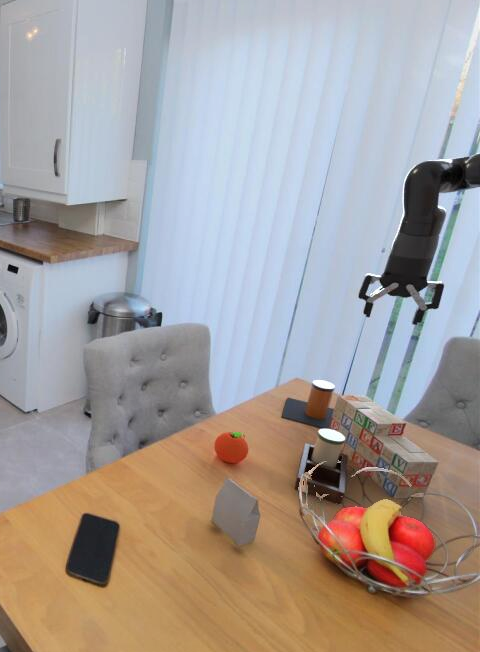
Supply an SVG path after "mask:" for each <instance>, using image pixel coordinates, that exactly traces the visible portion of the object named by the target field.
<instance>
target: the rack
mask: <svg viewBox="0 0 480 652" xmlns="http://www.w3.org/2000/svg"><path fill="white" fill-rule="evenodd" d="M314 446H315V444H314V445H313V444H311V443H307V442H305V443H304V445H303V449H302V452H301V456H300V461H299V466H298V469H297V474H296V479H295V483H294V487H293V490H295V491H298V487H299V482H300V479H301V476H302V474H304V473H305V472H308V471H309V470H311V469H312V468H313V467H315V466H316V465H317V464H318V463H315V462H312V461H310V460H311V457H312V453H313V450H314ZM348 459H349V458H348V455H345V454H344V453H342V452H340V455H339V459H338V460H339V461H341V463H337V465H336V468H335V469H334V468H331V467H328V466H325V465H319V466H318V467H317V468H316V469H315V470H314V471H313V473H312V474H311V475H312V476H311V478H312V480H311V479H308V478H307V485H308V494H307V495H309V496H312V497H315V498H317V497H316V492H317V493H318V494H319V495H320V496H322V495H323V494H329V495H327V496H325V497H323V499H322V500H324V501H326V502H329V503H333V504H336V503H337V504H336V505H338V504H341V505H342V504H343V503H342V502H343V500H344V497H345V494H346V481H347V469H348V461H349V460H348ZM346 464H347V465H346ZM303 485H304V481H303ZM314 485H315V487H314ZM298 492H299V491H298ZM341 496H343V497H341Z"/></svg>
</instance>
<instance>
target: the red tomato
mask: <svg viewBox="0 0 480 652" xmlns="http://www.w3.org/2000/svg"><path fill="white" fill-rule="evenodd" d="M245 437H246V436H245V434H244V433H242V432H239V431H233V432H231V431H228V432H223V433H221V434H220V435H218V436H217V437H216V439H215V440H214V443H213V447H214V452H215V453H216V455H217V457H219V459H221V460H222V461H224V462H226V463H230V464H237V463H241V462H242V461H244V460H245V459H246V458H247V456H248V454H249V445H248V442H247V441H246V440H245Z"/></svg>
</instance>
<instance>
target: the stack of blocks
mask: <svg viewBox="0 0 480 652" xmlns="http://www.w3.org/2000/svg"><path fill="white" fill-rule="evenodd" d="M333 409H334V411H333V415H332V420H331V423H330V427H329V429H332V430H335V431H337V432H339V433H341V434H343V435H344V436H345V442H344V443H343V446H342V449H341V452H340V453H342V454H345V455H348V459H349V460H350V461H352V462H353V463H354V464H355V465H356V466H357V467H358V468H359V469H361V468H365V467H378V468H384V469H388V470H392V471H394V472H397V473H399V474H401V475H402V476H404V477H405V478H406V479H407V480H408V481H409V482H410V484H411V485H412V486H411V487H410V486H409V485H408V484H407V483H406V482H405V481H404V480H403V479H402V478H401V477H400V476H398V475H395V474H392V473H389V472H384V471H367V472H364V473H365V474H366V475H367V476H368V477H369V478H371V480H372V481H374V482H375V483H376V484H377V486H379V487H380V488H381V489H382V490H383V491H384V492H386V493H387V494H388V495H389V496H390V497H391V498H393V499H409V498H408V497H410V496H411V495H414V494H417V493H425V494H426V492H427V490H428V487H429V486H430V483H431V480H432V478H433V475H434V474H435V472H436V470H437V468H438V465H439V462H440V461H439V460H437V459H436V458H434V457H432V455H430V454H429V453H427V452H426V451H424V449H422V448H421V447H419V446H418V445H416V444H415V443H413V441H411V440H409V439H408V438H407V437H405V436H403V434H404V430H405V428H406V425H407V423H406V422H405V421H404V420H403V419H400V418H399V417H397V415H394V414H393V413H392V412H390V411H388V410H387V409H386V408H384V407H382V406H381V405H380V404H379V403H377V402H375V401H374V400H373V399H371V398H370V397H368V396H367V395H365V394H351V395H350V394H344V395H343V394H342V395H341V394H340V395H337V397H336V401H335V405H334V408H333ZM424 497H425V495H424V496H423V498H424ZM414 499H421V498H420V497H415V498H414Z"/></svg>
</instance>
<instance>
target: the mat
mask: <svg viewBox="0 0 480 652" xmlns="http://www.w3.org/2000/svg"><path fill="white" fill-rule="evenodd" d="M307 402H308V401H303V400H300V399H296V398H293V397H292V398H291V397H287V398H286V401H285V404H284V407H283V410H282V414H281V419H285V420H288V421H292V422H296V423H299V424H303V425H307V426H311V427H314V428H318V429H329V427H330V423H331V420H332V415H333V411H334V408H332V407H329V408H328V412H327V415H326V418H325V419H315V418H312V417H309V416H308V415H306V414H305V410H306V406H307Z"/></svg>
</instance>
